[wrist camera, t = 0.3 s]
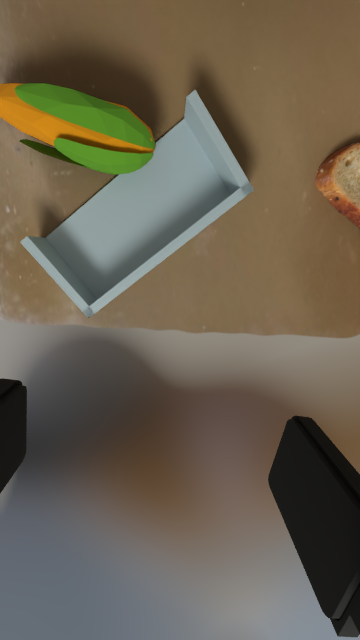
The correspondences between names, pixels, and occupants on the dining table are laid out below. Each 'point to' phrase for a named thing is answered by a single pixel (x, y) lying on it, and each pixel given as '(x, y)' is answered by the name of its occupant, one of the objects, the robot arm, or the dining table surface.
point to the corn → (78, 127)
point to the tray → (144, 213)
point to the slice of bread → (342, 181)
